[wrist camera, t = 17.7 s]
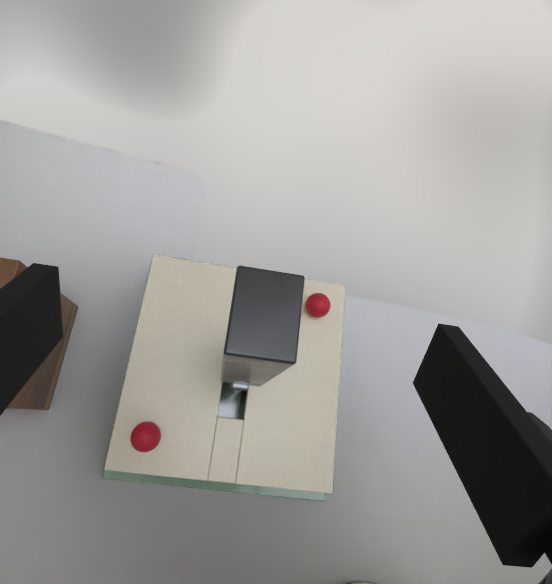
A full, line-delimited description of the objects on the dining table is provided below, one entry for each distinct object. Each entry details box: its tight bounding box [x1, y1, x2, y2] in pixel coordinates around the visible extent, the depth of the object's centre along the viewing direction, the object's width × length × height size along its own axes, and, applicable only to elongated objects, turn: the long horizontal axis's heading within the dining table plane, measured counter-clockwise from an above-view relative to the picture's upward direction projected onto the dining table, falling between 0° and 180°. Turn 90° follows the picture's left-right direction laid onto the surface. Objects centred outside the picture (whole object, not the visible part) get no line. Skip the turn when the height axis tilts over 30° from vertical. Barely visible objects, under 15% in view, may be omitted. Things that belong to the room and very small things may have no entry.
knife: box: [220, 266, 305, 399], centre depth 21 cm, size 2×3×21 cm, turn 174°
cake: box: [104, 254, 346, 494], centre depth 27 cm, size 13×13×8 cm
